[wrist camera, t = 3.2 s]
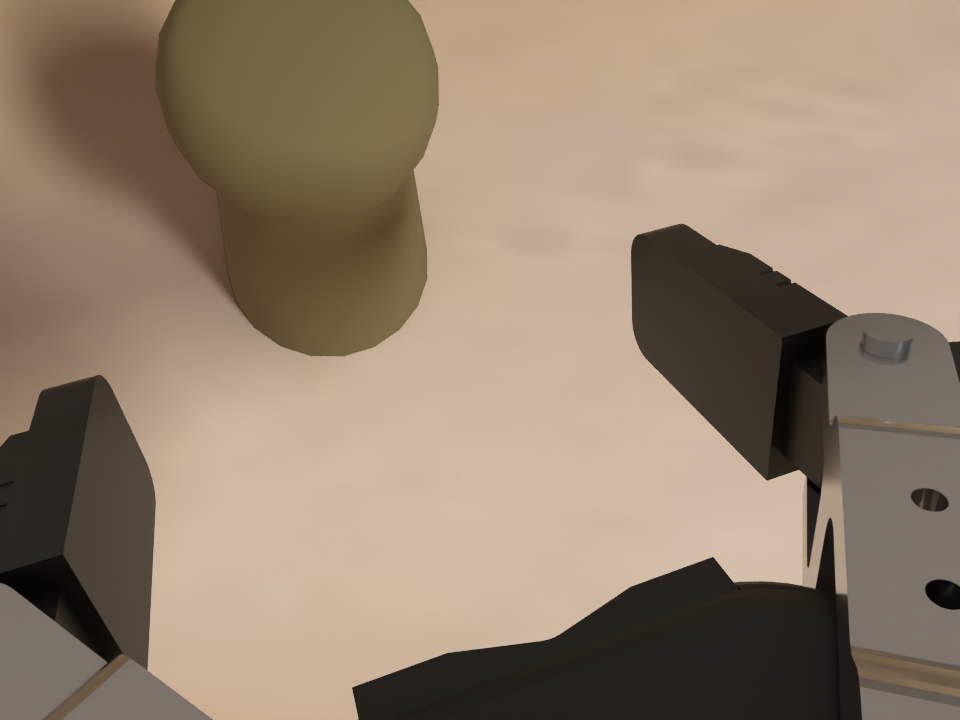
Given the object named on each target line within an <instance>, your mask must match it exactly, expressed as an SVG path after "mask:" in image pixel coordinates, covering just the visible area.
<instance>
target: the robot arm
mask: <svg viewBox="0 0 960 720" xmlns="http://www.w3.org/2000/svg"><path fill="white" fill-rule="evenodd" d="M631 272H632V323H633V330H634V335H635V338H636V341H637V344H638V346H639V348H640V350H641V352H642V354H643V355H644V357H645V358H646V359H647V360H648V361H649V362H650V363H651V364H652V365H653V366H654V367H655V368H656V369H657V370H658V371H659V372H660V373H661V374H662V375H663V376H664V377H665V378H666V379H667V380H668V381H669V382H670V383H671V384H672V385H673V386H674V387H675V388H676V389H677V390H678V391H679V392H680V393H681V394H682V395H683V396H684V397H685V398H686V399H687V400H688V401H689V402H690V404H691V405H692V406H693V407H694V408H695V409H696V410H697V411H698V412H699V413H700V414H701V415H702V416H703V417H704V418H705V419H706V420H707V421H708V422H709V423H710V424H711V425H712V426H713V427H714V428H715V429H716V430H717V431H718V432H719V433H720V434H721V435H722V436H723V437H724V438H725V439H726V440H727V441H728V442H729V443H730V444H731V445H732V446H733V447H734V448H735V449H736V450H737V451H738V452H739V453H740V454H741V455H742V456H743V457H744V458H745V459H746V460H747V461H748V462H749V463H750V464H751V465H752V466H753V467H754V468H755V469H756V470H757V471H758V472H759V473H760V474H761V475H762V476H763V477H764V478H765V479H766V480H770V479H773V478H776V477H779V476H782V475H785V474H788V473H790V472H793V471H796V470H800V471H801V472H802V473H803V474H804V475H806V478H805V485H804V491H803V586H799V585H794V584H788V583H777V582H734V583H733V581H732V580H731V579H730V578H729V576H728V575H727V574H726V572H725V571H724V570H723V569H722V567H721V566H720V565H719V564H718V562H717V561H716V560H715V559H714V557H712V558H709V559H706V560H704V561H701V562H698V563H695V564H693V565H690V566H687V567H684V568H682V569H679V570H676V571H673V572H671V573H668V574H665V575H662V576H659V577H657V578H654V579H651V580H648V581H646V582H643V583H640V584H637V585H635V586H632V587H630V588H628V589H627V590H625V591H624V592H622V593H621V594H620V595H618V596H617V597H615V598H614V599H612V600H611V601H609V602H608V603H606V604H605V605H603V606H602V607H600V608H599V609H597V610H596V611H594V612H593V613H591V614H590V615H588V616H587V617H585V618H584V619H582V620H581V621H579V622H578V623H576V624H575V625H573V626H572V627H570V628H569V629H567V630H566V631H564V632H563V633H561V634H560V635H558V636H556V637H554V638H552V639H549V640H545V641H539V642H531V643H523V644H516V645H508V646H500V647H492V648H484V649H476V650H468V651H460V652H452V653H446V654H444V655H441V656H438V657H435V658H433V659H430V660H427V661H424V662H422V663H419V664H416V665H413V666H410V667H408V668H405V669H402V670H399V671H397V672H394V673H391V674H388V675H386V676H383V677H380V678H377V679H375V680H372V681H369V682H366V683H363V684H361V685H358V686H355V687H352V689H353V694H354V699H355V703H356V708H357V713H358V718H359V719H358V720H960V341H959V342H948V341H947V339H946V338H945V337H944V336H943V335H942V334H941V333H940V332H939V331H938V330H936V329H935V328H933V327H931V326H930V325H928V324H925V323H923V322H921V321H918V320H915V319H912V318H909V317H905V316H900V315H894V314H885V313H865V314H857V315H852V316H849V317H848V316H847V315H845V314H844V313H842V312H841V311H839V310H837V309H836V308H834V307H833V306H831V305H830V304H828V303H826V302H825V301H823V300H822V299H820V298H819V297H817V296H815V295H814V294H812V293H811V292H809V291H808V290H806V289H804V288H803V287H801V286H800V285H798V284H797V283H791V280H790V279H789V278H787V277H786V276H784V275H783V274H781V273H779V272H778V271H774V272H773V269H772V267H770V266H768V265H767V264H765V263H764V262H762V261H761V260H759V259H757V258H756V257H754V256H753V255H751V254H749V253H746V252H742V251H739V250H736V249H732V248H729V247H726V246H722V245H716V244H714V243H713V242H711V241H710V240H708V239H707V238H705V237H703V236H702V235H700V234H699V233H697V232H696V231H694V230H693V229H691V228H690V227H688V226H687V225H685V224H677V225H674V226H670V227H666V228H662V229H658V230H655V231H651V232H647V233H643V234H639V235H637V236H636V237H635V238H634V240H633V243H632V248H631ZM155 505H156V500H155V491H154V485H153V481H152V477H151V474H150V471H149V468H148V465H147V462H146V460H145V458H144V456H143V454H142V452H141V449H140V447H139V445H138V443H137V441H136V439H135V437H134V435H133V433H132V430H131V428H130V426H129V424H128V422H127V420H126V418H125V416H124V414H123V411H122V409H121V407H120V405H119V403H118V401H117V399H116V397H115V395H114V392H113V390H112V389H111V387H110V385H109V383H108V382H107V380H106V379H105V378H104V377H103V376H101V375H97V376H94V377H90V378H86V379H82V380H78V381H75V382H71V383H67V384H63V385H59V386H56V387H52V388H48V389H44V390H42V391H41V393H40V395H39V398H38V402H37V405H36V409H35V412H34V416H33V419H32V422H31V426H30V429H29V431H26V432H22V433H19V434H15V435H11V436H10V437H9V438H8V439H7V440H6V441H5V442H4V443H3V445H2V446H1V447H0V720H213V719H211V718H210V717H209V716H207V715H206V714H204V713H203V712H202V711H200V710H199V709H198V708H196V707H195V706H194V705H192V704H191V703H190V702H188V701H187V700H186V699H184V698H183V697H182V696H180V695H179V694H178V693H176V692H175V691H174V690H172V689H171V688H170V687H168V686H167V685H166V684H164V683H163V682H162V681H160V680H159V679H158V678H156V677H155V676H154V675H152V674H151V673H150V672H148V671H147V667H148V646H149V626H150V606H151V586H152V566H153V546H154V525H155Z"/></svg>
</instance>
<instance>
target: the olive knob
mask: <svg viewBox="0 0 960 720" xmlns="http://www.w3.org/2000/svg"><path fill="white" fill-rule="evenodd" d="M156 91H157V94H158V97H159V101H160V104H161V108H162V111H163V115H164V118H165V121H166V125H167V128H168V131H169V133H170V135H171V136H172V138H173V140H174V142H175V144H176V146H177V147H178V149H179V150H180V151H181V153H182V154H183V156H184V157H185V158H186V160H187V161H188V162H189V164H190V165H191V166H192V168H193V169H194V170H195V172H196V173H197V175H198V176H199V177H200V179H201V180H203V181H204V182H205V183H207V184H208V185H209V186H211V187H212V188H213V189H215V190H216V191H217V198H218V205H219V212H220V220H221V227H222V234H223V242H224V249H225V257H226V264H227V271H228V276H229V279H230V283H231V286H232V289H233V293H234V296H235V300H236V303H237V304H238V305H239V307H240V308H241V310H242V311H243V312H244V314H245V315H246V317H247V318H248V319H249V321H250V322H251V323H252V325H253V326H254V328H256V329H257V330H259V331H260V332H261V333H263V334H264V335H266V336H267V337H268V338H270V339H271V340H273V341H274V342H275V343H277V344H278V345H280V346H282V347H285V348H288V349H291V350H294V351H297V352H301V353H304V354H307V355H310V356H346V355H349V354H352V353H356V352H359V351H362V350H366V349H369V348H372V347H375V346H376V345H378V344H379V343H381V342H382V341H384V340H385V339H386V338H388V337H389V336H391V335H392V334H394V333H395V332H397V331H398V330H400V328H401V327H402V326H403V324H404V323H405V322H406V321H407V319H408V318H409V317H410V315H411V314H412V313H413V311H414V310H415V309H416V308H417V306H418V304H419V301H420V298H421V295H422V292H423V289H424V286H425V283H426V280H427V247H426V241H425V236H424V230H423V224H422V218H421V212H420V206H419V200H418V194H417V188H416V182H415V177H414V171H413V170H414V168H415V167H416V166H417V164H418V163H419V162H420V160H421V159H422V158H423V156H424V153H425V151H426V148H427V145H428V142H429V139H430V137H431V134H432V131H433V128H434V125H435V122H436V117H437V112H438V106H439V98H438V66H437V62H436V58H435V54H434V51H433V48H432V45H431V43H430V40H429V37H428V35H427V32H426V29H425V27H424V24H423V21H422V19H421V16H420V14H419V13H418V12H417V11H416V9H415V8H414V7H413V6H412V5H411V3H410V2H409V1H408V0H175V2H174V4H173V6H172V8H171V10H170V12H169V15H168V17H167V19H166V21H165V23H164V25H163V27H162V29H161V31H160V33H159V42H158V53H157V65H156Z"/></svg>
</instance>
